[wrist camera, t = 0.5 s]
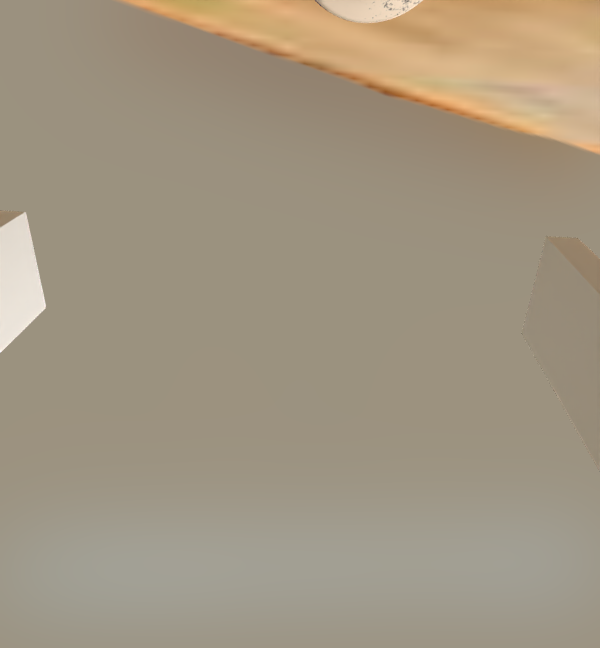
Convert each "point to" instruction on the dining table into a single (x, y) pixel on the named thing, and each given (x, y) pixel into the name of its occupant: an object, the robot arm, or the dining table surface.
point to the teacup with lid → (368, 9)
